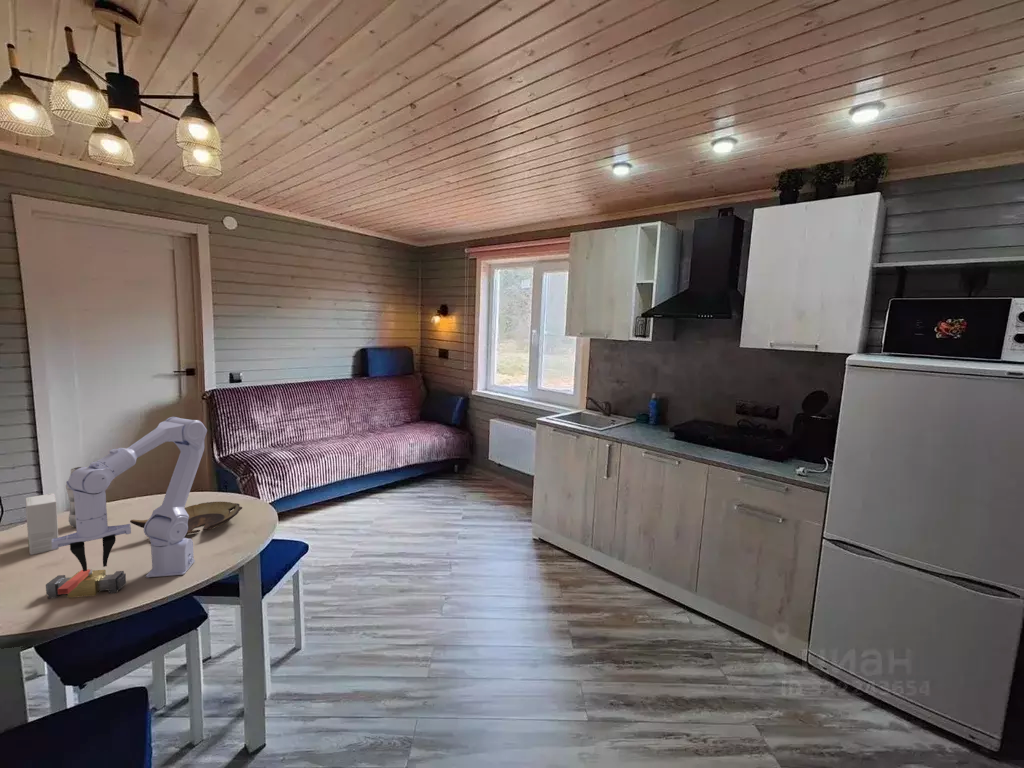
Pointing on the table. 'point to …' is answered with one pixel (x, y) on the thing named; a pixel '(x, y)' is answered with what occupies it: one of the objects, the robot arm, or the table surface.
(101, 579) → the pipe valve
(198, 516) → the olive brown leaf dish
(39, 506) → the skincare box
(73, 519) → the plastic bottle
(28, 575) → the table surface
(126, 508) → the table surface
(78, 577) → the lever
